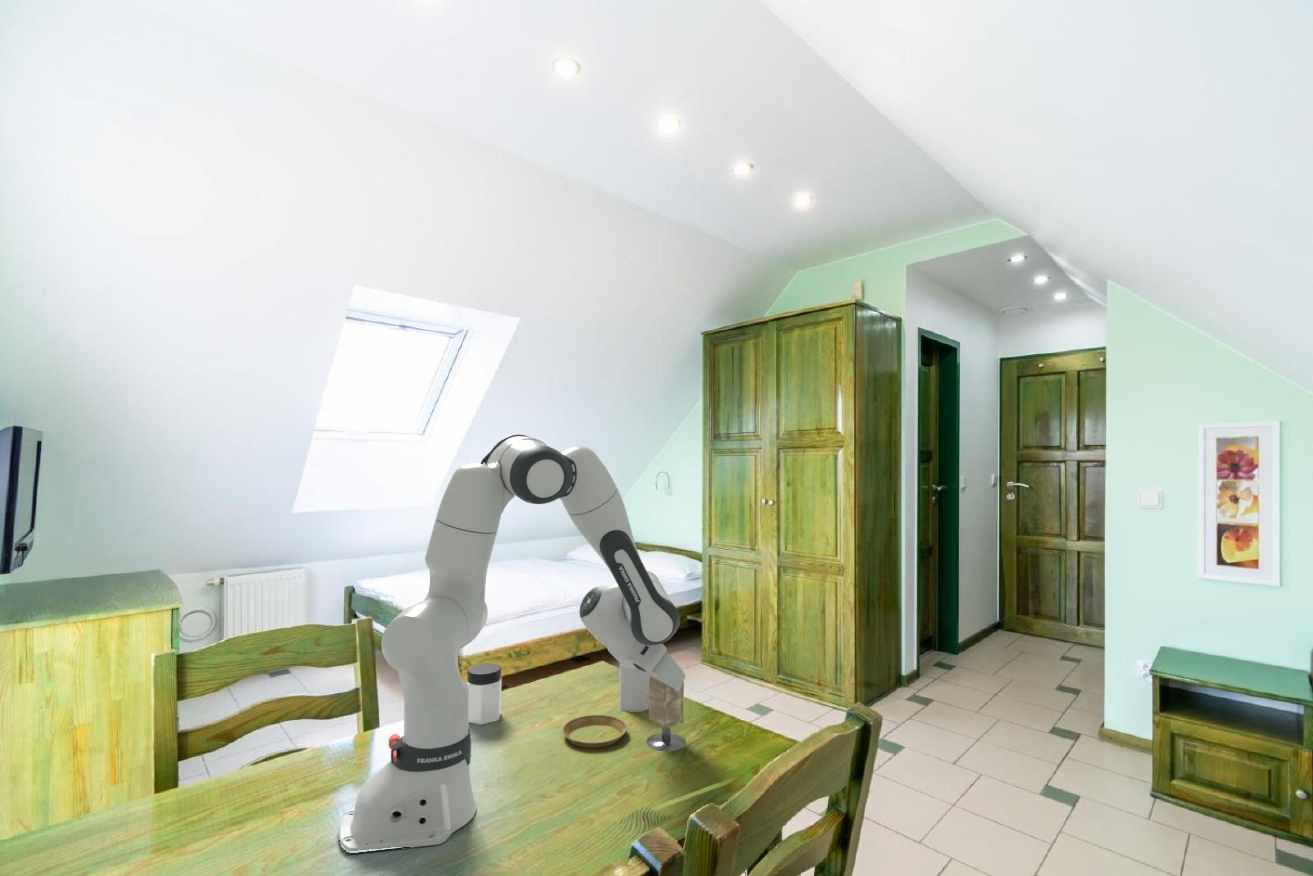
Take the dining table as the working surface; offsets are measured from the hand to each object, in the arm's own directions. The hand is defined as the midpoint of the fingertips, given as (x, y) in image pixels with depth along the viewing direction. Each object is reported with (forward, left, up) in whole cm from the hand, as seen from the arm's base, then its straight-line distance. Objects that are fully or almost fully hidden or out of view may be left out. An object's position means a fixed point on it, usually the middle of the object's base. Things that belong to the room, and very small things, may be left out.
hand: (668, 683), depth 142 cm
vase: (-1, 0, -8) cm, 8 cm away
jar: (-37, +30, -14) cm, 49 cm away
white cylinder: (0, +22, -14) cm, 26 cm away
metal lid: (-1, 0, -14) cm, 14 cm away
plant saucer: (-15, +9, -14) cm, 22 cm away
